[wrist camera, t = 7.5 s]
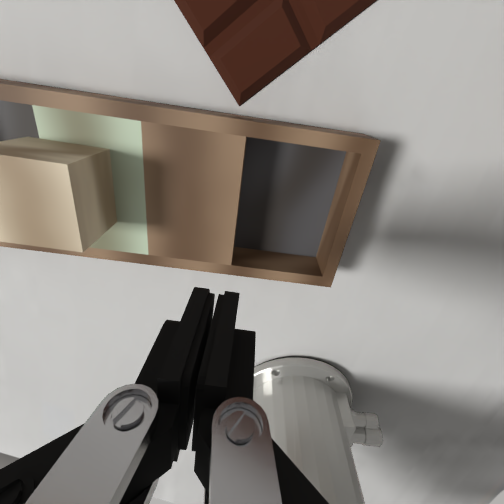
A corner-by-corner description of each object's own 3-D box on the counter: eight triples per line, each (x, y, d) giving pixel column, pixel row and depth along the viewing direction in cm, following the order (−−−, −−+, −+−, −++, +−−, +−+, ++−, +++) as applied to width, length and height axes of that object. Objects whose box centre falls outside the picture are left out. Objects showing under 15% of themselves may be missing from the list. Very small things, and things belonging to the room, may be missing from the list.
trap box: (362, 133, 18) (380, 140, 15) (322, 265, 23) (330, 287, 20) (-62, 69, 17) (-122, 64, 14) (-8, 222, 21) (-45, 240, 19)
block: (109, 149, 16) (67, 164, 12) (117, 221, 18) (82, 252, 14) (27, 136, 15) (-40, 148, 12) (45, 211, 18) (-8, 240, 14)
